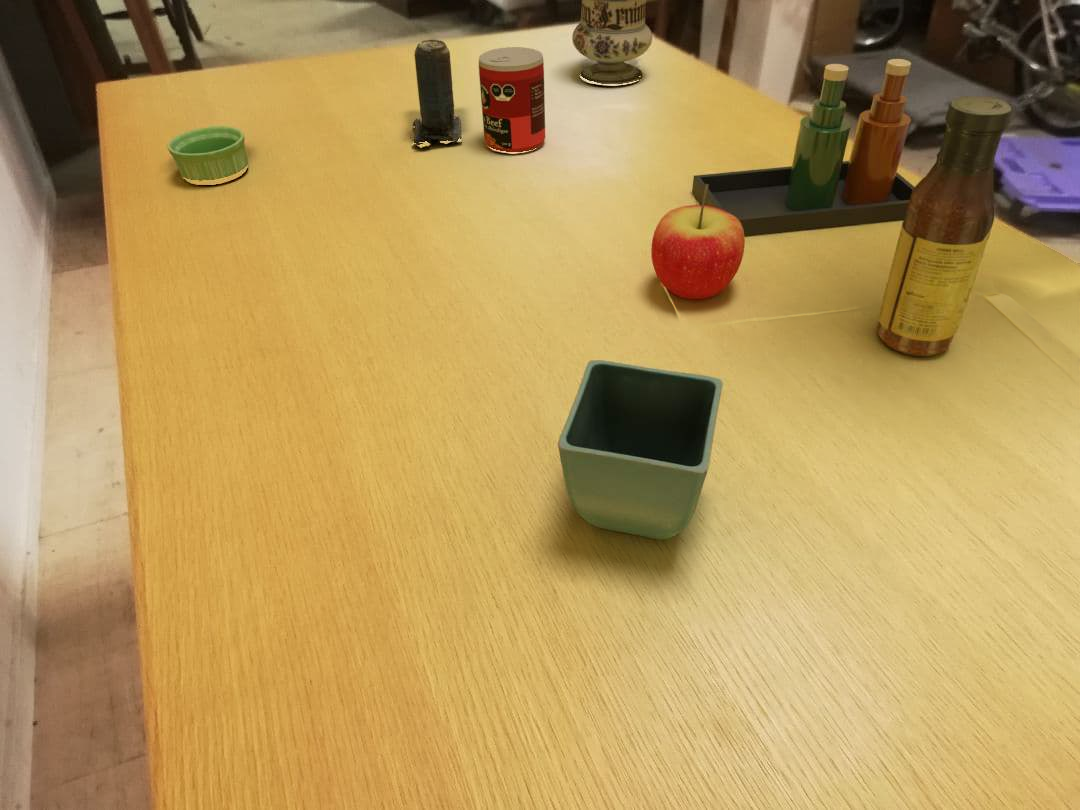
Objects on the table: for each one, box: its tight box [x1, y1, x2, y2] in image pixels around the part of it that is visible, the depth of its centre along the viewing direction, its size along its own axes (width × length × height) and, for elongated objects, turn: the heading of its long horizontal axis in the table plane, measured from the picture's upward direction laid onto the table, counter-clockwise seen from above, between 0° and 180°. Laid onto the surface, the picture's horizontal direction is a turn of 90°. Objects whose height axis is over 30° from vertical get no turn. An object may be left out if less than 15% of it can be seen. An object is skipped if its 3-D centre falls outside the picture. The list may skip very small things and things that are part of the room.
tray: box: [691, 160, 915, 238], centre depth 86 cm, size 22×11×2 cm, turn 99°
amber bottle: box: [841, 58, 912, 206], centre depth 82 cm, size 5×5×14 cm
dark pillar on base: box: [412, 39, 462, 147], centre depth 102 cm, size 9×8×12 cm
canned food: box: [478, 46, 546, 152], centre depth 99 cm, size 8×8×11 cm
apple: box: [650, 184, 746, 300], centre depth 71 cm, size 8×8×10 cm
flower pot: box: [557, 359, 723, 541], centre depth 51 cm, size 9×9×9 cm
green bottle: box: [785, 63, 852, 211], centre depth 82 cm, size 5×5×14 cm
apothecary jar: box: [571, 0, 653, 84], centre depth 116 cm, size 12×12×18 cm
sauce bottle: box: [876, 95, 1013, 358], centre depth 61 cm, size 7×6×20 cm
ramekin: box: [166, 125, 249, 181], centre depth 97 cm, size 9×9×4 cm
